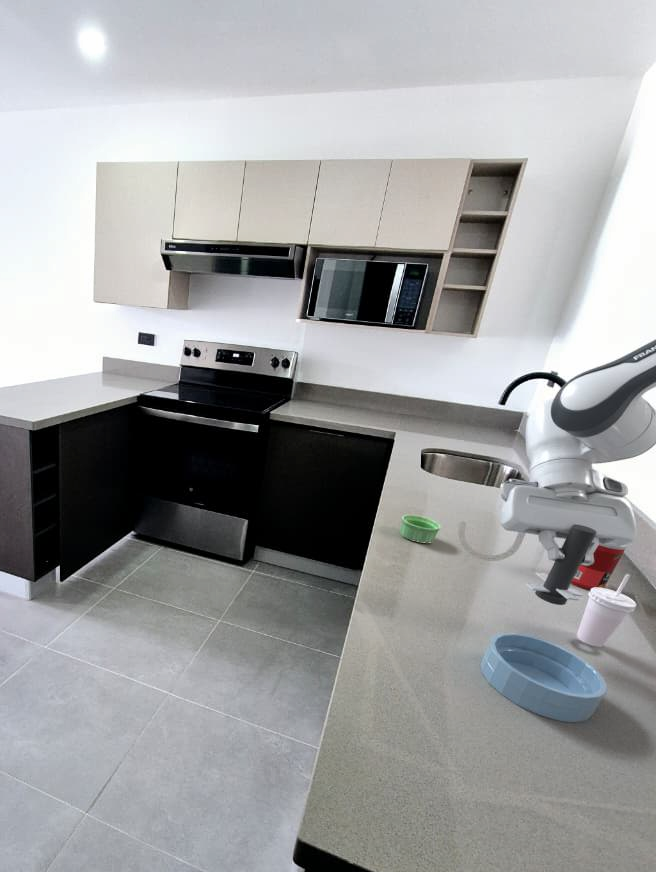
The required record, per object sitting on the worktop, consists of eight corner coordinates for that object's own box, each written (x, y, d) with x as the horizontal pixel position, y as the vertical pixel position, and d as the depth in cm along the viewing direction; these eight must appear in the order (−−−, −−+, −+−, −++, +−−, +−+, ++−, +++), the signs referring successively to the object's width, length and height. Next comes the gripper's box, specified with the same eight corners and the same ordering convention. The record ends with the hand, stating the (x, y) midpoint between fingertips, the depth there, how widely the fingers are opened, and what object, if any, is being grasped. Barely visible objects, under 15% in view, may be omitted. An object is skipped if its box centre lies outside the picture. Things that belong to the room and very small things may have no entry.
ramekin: (398, 527, 132) (403, 511, 130) (435, 536, 129) (440, 520, 127) (395, 538, 124) (401, 522, 122) (435, 548, 121) (441, 532, 119)
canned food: (605, 595, 108) (629, 550, 104) (561, 582, 112) (583, 537, 107) (600, 582, 114) (623, 539, 110) (559, 570, 118) (580, 527, 113)
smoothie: (619, 654, 87) (660, 584, 81) (589, 654, 86) (628, 584, 80) (586, 631, 93) (622, 565, 87) (558, 631, 91) (592, 564, 86)
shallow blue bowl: (573, 677, 79) (587, 651, 77) (605, 740, 67) (623, 712, 65) (473, 647, 84) (484, 622, 82) (486, 701, 71) (499, 673, 69)
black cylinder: (558, 588, 89) (592, 521, 83) (592, 615, 81) (631, 543, 76) (511, 582, 89) (542, 515, 83) (540, 608, 81) (576, 536, 76)
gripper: (511, 468, 84) (518, 545, 79) (637, 486, 83) (653, 565, 78) (489, 485, 90) (494, 558, 85) (606, 502, 89) (619, 576, 84)
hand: (571, 562), depth 81 cm, fingers closed on black cylinder, 3 cm apart
